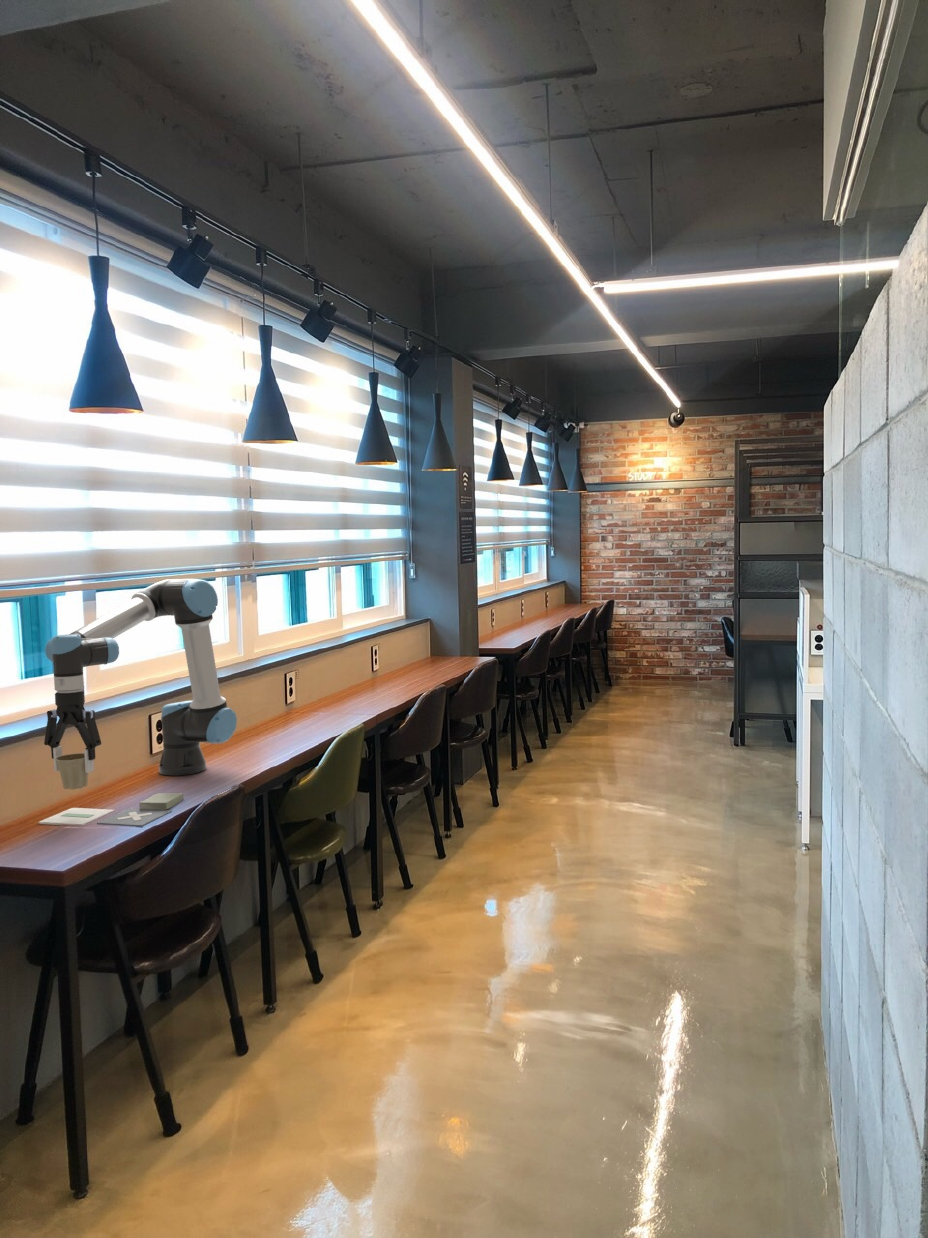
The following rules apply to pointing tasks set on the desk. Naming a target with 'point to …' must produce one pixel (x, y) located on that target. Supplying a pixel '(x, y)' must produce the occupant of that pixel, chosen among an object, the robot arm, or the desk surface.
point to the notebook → (161, 801)
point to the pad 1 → (76, 816)
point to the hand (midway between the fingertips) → (74, 770)
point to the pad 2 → (134, 817)
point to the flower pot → (72, 770)
